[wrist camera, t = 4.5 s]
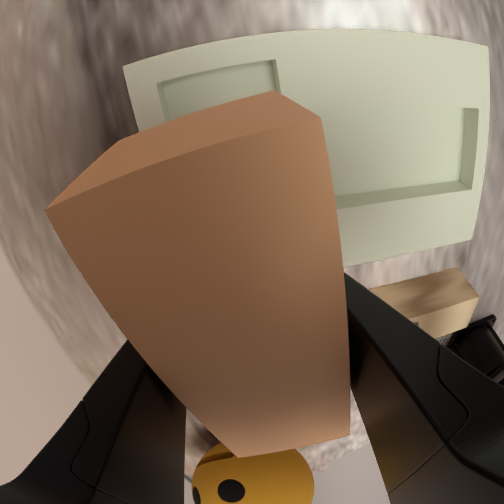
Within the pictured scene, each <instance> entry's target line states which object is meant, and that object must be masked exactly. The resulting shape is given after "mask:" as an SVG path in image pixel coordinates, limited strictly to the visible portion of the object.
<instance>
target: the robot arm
mask: <svg viewBox="0 0 504 504" xmlns="http://www.w3.org/2000/svg"><path fill="white" fill-rule="evenodd" d="M344 281H345V292H346V305H347V320H348V338H349V362H350V387H351V390H352V392H353V395H354V398H355V401H356V403H357V406H358V409H359V412H360V414H361V417H362V420H363V423H364V425H365V428H366V431H367V434H368V437H369V440H370V442H371V445H372V448H373V451H374V454H375V457H376V460H377V463H378V466H379V469H380V471H381V475H382V478H383V481H384V484H385V487H386V490H387V492H388V497H389V500H390V503H391V504H504V344H503V343H502V341H501V340H500V338H499V337H498V335H497V334H496V332H495V331H494V329H493V328H492V327H493V325H494V323H495V321H496V317H495V315H493V316H491V317H488V318H486V319H483V320H481V321H478V322H476V323H473V324H471V325H468V326H467V327H466V328H463V329H461V330H458V331H455V333H454V335H453V337H452V339H451V341H450V344H449V346H448V348H446V347H445V346H444V345H442V344H441V345H440V343H439V342H438V341H437V340H436V339H434V338H433V337H432V336H430V335H429V334H428V333H427V332H425V331H424V330H423V329H421V328H420V327H419V326H417V325H416V324H415V323H413V322H412V321H411V320H409V319H408V318H406V317H405V316H404V315H402V314H401V313H400V312H398V311H397V310H396V309H394V308H393V307H392V306H390V305H389V304H387V303H386V302H385V301H383V300H382V299H381V298H379V297H378V296H376V295H375V294H374V293H372V292H371V291H370V290H368V289H367V288H365V287H364V286H363V285H361V284H360V283H358V282H357V281H356V280H354V279H353V278H351V277H350V276H349V275H347V274H346V273H344ZM185 428H186V407H185V405H184V404H183V403H182V402H181V401H180V400H179V399H178V398H177V397H176V396H175V395H174V394H173V392H172V391H171V390H170V389H169V388H168V387H167V386H166V385H165V384H164V382H163V381H162V380H161V379H160V378H159V377H158V375H157V374H156V373H155V372H154V371H153V370H152V368H151V367H150V366H149V365H148V364H147V362H146V361H145V360H144V359H143V358H142V356H141V355H140V354H139V353H138V351H137V350H136V349H135V348H134V346H133V345H132V344H131V343H130V341H129V340H127V341H126V342H125V343H124V345H123V346H122V347H121V349H120V350H119V351H118V352H117V354H116V355H115V356H114V358H113V359H112V360H111V361H110V363H109V364H108V365H107V367H106V368H105V369H104V371H103V372H102V373H101V375H100V376H99V377H98V379H97V380H96V381H95V382H94V384H93V385H92V386H91V388H90V389H89V391H88V392H87V393H86V395H85V396H84V397H83V401H80V402H79V404H78V405H77V407H76V408H75V409H74V411H73V412H72V413H71V415H70V416H69V417H68V418H67V420H66V421H65V423H64V424H63V425H62V427H61V428H60V429H59V430H58V431H57V432H56V433H55V435H54V436H53V437H52V438H51V440H50V441H49V442H48V443H47V444H46V445H45V446H44V448H43V449H42V450H41V451H40V452H39V454H38V455H37V456H36V457H35V458H34V459H33V460H32V462H31V463H30V464H29V465H28V466H27V468H25V470H24V471H23V472H22V473H21V474H20V475H19V476H18V477H16V478H15V479H14V480H12V481H11V482H9V483H6V484H4V485H1V486H0V504H184V461H185Z"/></svg>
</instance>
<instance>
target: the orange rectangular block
mask: <svg viewBox="0 0 504 504" xmlns="http://www.w3.org/2000/svg"><path fill="white" fill-rule="evenodd" d="M44 211H45V213H46V214H47V216H48V218H49V220H50V222H51V224H52V225H53V227H54V229H55V231H56V233H57V234H58V236H59V238H60V240H61V241H62V243H63V245H64V246H65V248H66V250H67V251H68V253H69V255H70V256H71V258H72V260H73V261H74V263H75V264H76V266H77V268H78V269H79V271H80V272H81V274H82V275H83V277H84V278H85V280H86V281H87V283H88V285H89V286H90V288H91V289H92V290H93V292H94V293H95V295H96V296H97V298H98V299H99V301H100V302H101V304H102V305H103V306H104V308H105V309H106V311H107V312H108V313H109V315H110V316H111V318H112V319H113V320H114V322H115V323H116V324H117V326H118V327H119V328H120V330H121V331H122V332H123V334H124V335H125V336H126V337H127V339H128V340H129V341H130V343H131V344H132V345H133V346H134V348H135V349H136V350H137V351H138V353H139V354H140V355H141V356H142V358H143V359H144V360H145V361H146V362H147V364H148V365H149V366H150V367H151V368H152V370H153V371H154V372H155V373H156V374H157V375H158V377H159V378H160V379H161V380H162V381H163V382H164V384H165V385H166V386H167V387H168V388H169V389H170V390H171V391H172V392H173V394H174V395H175V396H176V397H177V398H178V399H179V400H180V401H181V402H182V403H183V404H184V405H185V407H186V408H187V409H188V410H189V411H190V412H191V413H192V414H193V415H194V416H195V417H196V418H197V419H198V420H199V421H200V422H201V423H202V424H203V425H204V426H205V427H206V428H207V429H208V430H209V431H210V432H211V433H212V434H213V435H214V436H215V437H216V438H217V439H218V440H219V441H220V442H221V443H223V444H224V445H225V446H226V447H227V448H228V449H229V450H230V451H231V452H232V453H233V454H234V455H236V456H237V457H238V458H240V457H248V456H255V455H261V454H268V453H273V452H279V451H285V450H290V449H295V448H300V447H304V446H309V445H313V444H317V443H321V442H326V441H329V440H333V439H337V438H341V437H344V436H348V435H350V362H349V338H348V320H347V305H346V292H345V281H344V270H343V260H342V250H341V242H340V233H339V225H338V217H337V210H336V203H335V196H334V189H333V182H332V176H331V170H330V164H329V158H328V152H327V146H326V141H325V136H324V130H323V125H322V120H321V117H319V116H318V115H316V114H314V113H313V112H311V111H310V110H308V109H306V108H305V107H303V106H301V105H299V104H298V103H296V102H294V101H293V100H291V99H289V98H287V97H286V96H284V95H282V94H280V93H278V92H277V91H275V90H274V91H270V92H265V93H261V94H257V95H253V96H249V97H245V98H241V99H238V100H234V101H230V102H227V103H223V104H220V105H217V106H213V107H210V108H207V109H203V110H200V111H197V112H194V113H191V114H188V115H185V116H182V117H179V118H176V119H173V120H170V121H168V122H165V123H162V124H159V125H157V126H154V127H151V128H149V129H146V130H143V131H141V132H138V133H136V134H133V135H131V136H128V137H126V138H124V139H121V140H119V141H118V142H116V143H115V144H114V145H113V146H112V147H110V148H109V149H108V150H107V151H106V152H105V153H103V154H102V155H101V156H100V157H99V158H98V159H96V160H95V161H94V162H93V163H92V164H91V165H90V166H89V167H88V168H86V169H85V170H84V171H83V172H82V173H81V174H80V175H79V176H78V177H77V178H76V179H75V180H74V181H73V182H71V183H70V184H69V185H68V186H67V187H66V188H65V189H64V190H63V191H62V192H61V193H60V194H59V195H58V196H57V197H56V198H55V199H54V200H53V201H52V202H51V203H50V204H49V206H48V207H47V208H46V209H45V210H44Z"/></svg>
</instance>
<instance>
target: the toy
mask: <svg viewBox="0 0 504 504" xmlns="http://www.w3.org/2000/svg"><path fill="white" fill-rule="evenodd" d="M192 495H193V500H194V503H195V504H311V503H312V499H313V495H314V479H313V475H312V472H311V469H310V467H309V465H308V463H307V462H306V460H305V459H304V457H303V456H302V455H301V454H300V453H299V452H298V451H297V450H296V449H290V450H285V451H279V452H273V453H268V454H261V455H255V456H248V457H240V458H238V457H237V456H236V455H234V454H233V453H232V452H231V451H230V450H229V449H228V448H227V447H226V446H225V445H224V444H223V443H219V444H217V445H216V446H214V447H213V448H211V449H210V450H209V451H208V452H207V453H206V454H205V455H204V456H203V457H202V459H201V460H200V461H199V463H198V465H197V467H196V469H195V472H194V475H193V479H192Z"/></svg>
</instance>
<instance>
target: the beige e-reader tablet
mask: <svg viewBox="0 0 504 504" xmlns="http://www.w3.org/2000/svg"><path fill="white" fill-rule="evenodd" d="M368 290H370V291H371V292H372V293H374V294H375V295H376V296H378V297H379V298H381V299H382V300H383V301H385V302H386V303H387V304H389V305H390V306H392V307H393V308H394V309H396V310H397V311H398V312H400V313H401V314H402V315H404V316H405V317H406V318H408V319H409V320H411V321H412V322H413V323H415V324H416V325H417V326H419V327H420V328H421V329H423V330H424V331H425V332H427V333H428V334H429V335H430V336H432V337H433V338H434V339H435V338H438V337H441V336H444V335H447V334H450V333H452V332H455V331H458V330H461V329H463V328H466V327H467V326H468V324H469V321H470V319H471V317H472V314H473V312H474V310H475V307H476V305H477V302H478V300H479V297H480V296H479V295H478V293H477V292H476V291H475V290H474V288H473V287H472V286H471V284H470V283H469V282H468V281H467V279H466V278H465V277H464V276H463V275H462V273H461V272H460V271H459V270H458V268H457V267H456V268H452V269H448V270H445V271H441V272H437V273H433V274H429V275H425V276H421V277H417V278H413V279H409V280H405V281H401V282H397V283H393V284H388V285H384V286H380V287H375V288H371V289H368Z"/></svg>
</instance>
